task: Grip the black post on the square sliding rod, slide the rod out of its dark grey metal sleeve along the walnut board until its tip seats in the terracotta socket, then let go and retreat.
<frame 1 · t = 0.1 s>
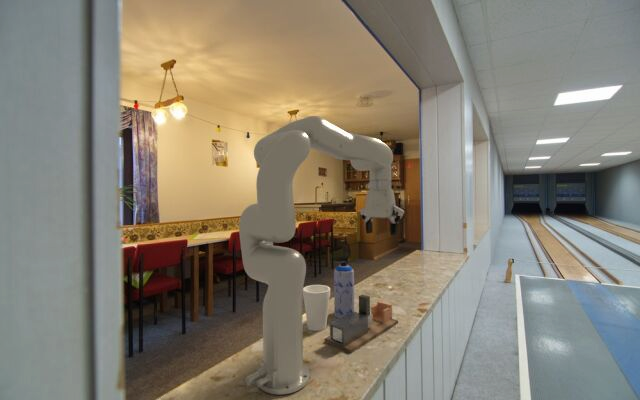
hand: (381, 233, 102), 31 cm above the table, tool pointing down, fingers open, 9 cm apart
foam cup: (317, 327, 98), on the table
square sliding rod: (353, 316, 90), point 7 cm above the table, slide at 0.0 cm
aerosol can: (344, 315, 108), on the table
socket block: (381, 311, 102), on the track board, point 4 cm above the table
outer sleeve: (349, 328, 88), on the track board, point 4 cm above the table
track board: (362, 332, 93), on the table
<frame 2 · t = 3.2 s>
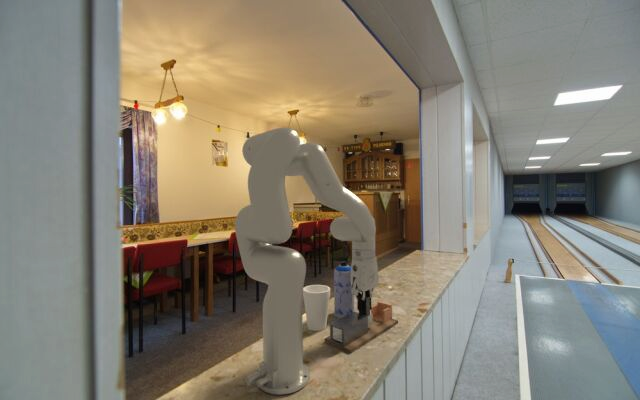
hand: (364, 309, 94), 7 cm above the table, tool pointing down, fingers closed on square sliding rod, 2 cm apart
square sliding rod: (353, 316, 90), point 7 cm above the table, slide at 0.0 cm, touching gripper
everything else where it was.
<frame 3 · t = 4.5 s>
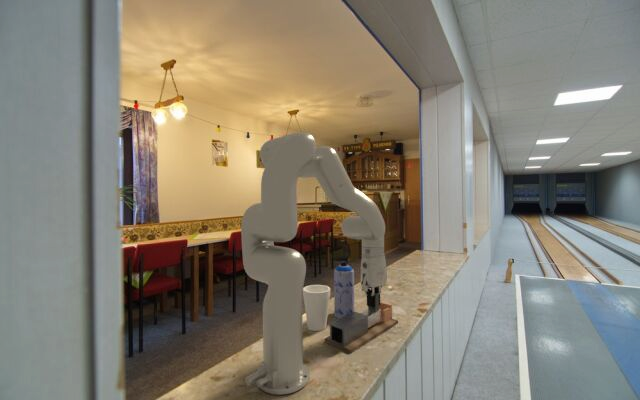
hand: (373, 305, 98), 7 cm above the table, tool pointing down, fingers closed on square sliding rod, 2 cm apart
square sliding rod: (363, 311, 94), point 7 cm above the table, slide at 5.4 cm, touching gripper
everything else where it was.
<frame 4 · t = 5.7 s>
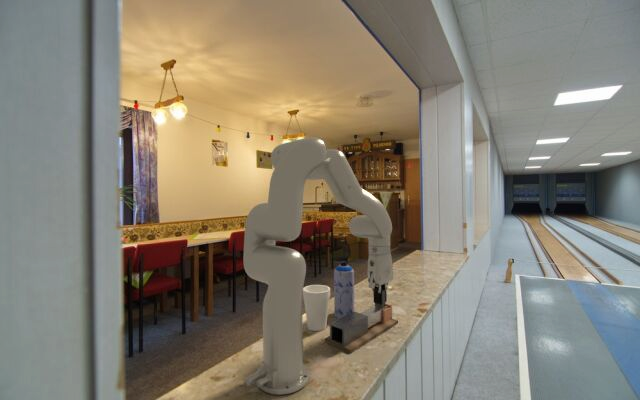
hand: (380, 301, 101), 7 cm above the table, tool pointing down, fingers closed on square sliding rod, 2 cm apart
square sliding rod: (370, 307, 97), point 7 cm above the table, slide at 9.6 cm, touching gripper
everything else where it was.
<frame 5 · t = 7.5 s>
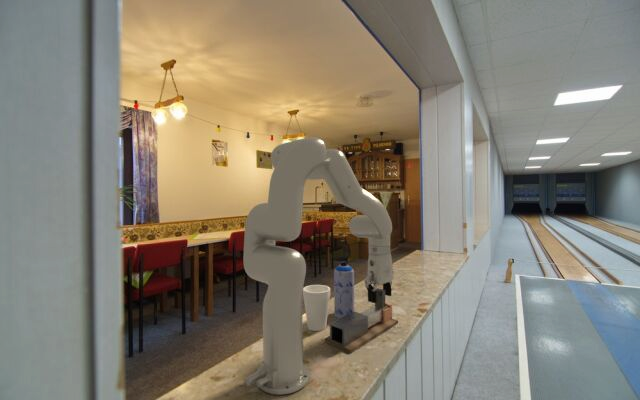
hand: (379, 298, 101), 8 cm above the table, tool pointing down, fingers open, 9 cm apart
square sliding rod: (370, 307, 97), point 7 cm above the table, slide at 9.6 cm
everything else where it was.
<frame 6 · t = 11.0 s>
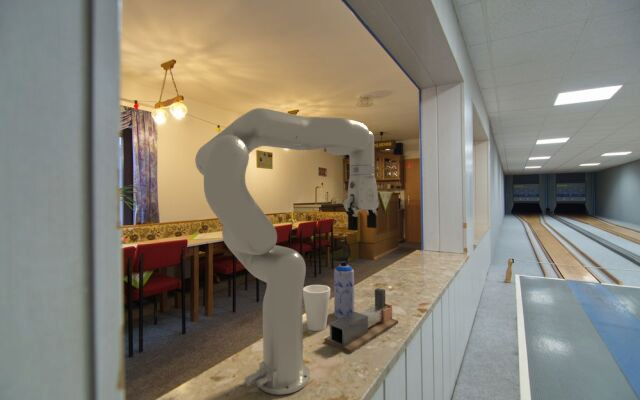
hand: (362, 228, 87), 34 cm above the table, tool pointing down, fingers open, 9 cm apart
nothing on the table moved.
at the end: square sliding rod slide at 9.6 cm; the gripper is holding nothing; aerosol can moved 0.2 cm from its start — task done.
